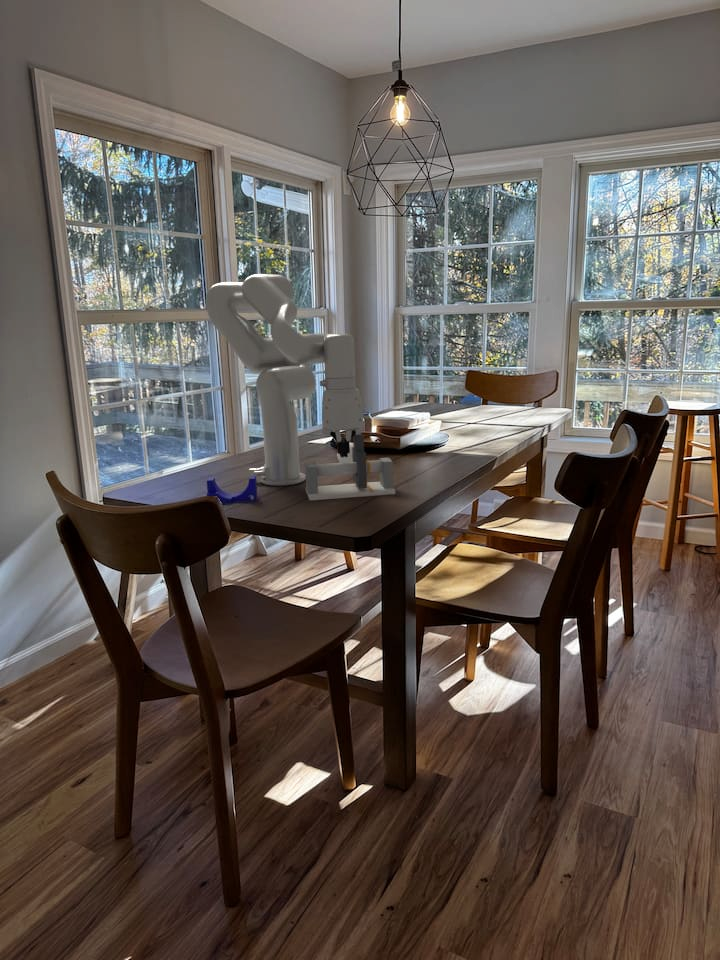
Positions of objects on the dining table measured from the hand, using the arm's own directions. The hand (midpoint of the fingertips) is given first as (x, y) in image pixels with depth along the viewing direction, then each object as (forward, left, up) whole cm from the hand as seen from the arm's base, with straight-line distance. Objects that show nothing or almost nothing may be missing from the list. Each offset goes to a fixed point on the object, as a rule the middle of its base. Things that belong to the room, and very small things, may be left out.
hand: (343, 456), depth 172 cm
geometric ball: (+6, +29, -10) cm, 31 cm away
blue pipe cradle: (-29, 0, -10) cm, 30 cm away
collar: (+4, 0, -8) cm, 9 cm away
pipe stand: (+1, 0, -10) cm, 10 cm away
